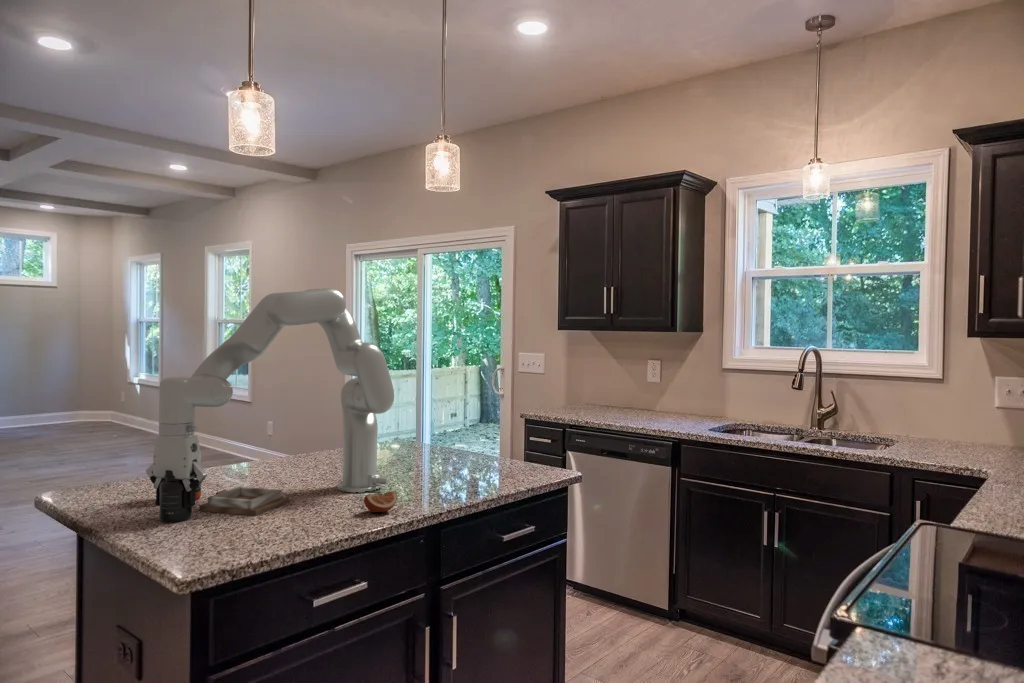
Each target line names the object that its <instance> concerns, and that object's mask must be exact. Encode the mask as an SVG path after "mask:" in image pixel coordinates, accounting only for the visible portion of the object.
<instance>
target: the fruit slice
mask: <svg viewBox="0 0 1024 683" xmlns="http://www.w3.org/2000/svg"><path fill="white" fill-rule="evenodd" d="M397 502H398V494H397V491H396V490H394V491H388V492H387V491H386V492H384V493H379V492H378V493H370V494H369V493H368V494H365V496H364V499H363V504H364V506H365V507H366V509H367V510H369V511H370V512H372V513H375V512H382V513H386V512H387V511H390V510H391V509H392V508H394V507H395V505H396V504H397Z"/></svg>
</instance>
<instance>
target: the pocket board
mask: <svg viewBox="0 0 1024 683" xmlns="http://www.w3.org/2000/svg"><path fill="white" fill-rule="evenodd" d="M287 502H288V503H289V502H290V497H289V496H282V489H274V488H263V487H251V486H250V487H249V486H238V487H234V488H231V489H228V490H227V489H223V490H220V491H216V492H215V494H214V495H211V496H208V497H207V502H206V503H204V504H200V505H198V506H199V508H198V511H200V510H202V511H203V512H210V511H211V512H212V513H224V514H232V515H242V514H243V515H242V516H245V515H246V516H253V515H257V516H259V515H262V514H264V513H266V511H267V512H269V511H271V510H273V508H274V509H276V508H278V507H280V505H281V506H283V505H285V504H284V503H286V504H287ZM282 504H283V505H282ZM275 507H276V508H275ZM268 510H269V511H268ZM202 511H201V512H202ZM263 512H264V513H263ZM261 513H262V514H261ZM258 514H259V515H258Z"/></svg>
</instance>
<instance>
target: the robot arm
mask: <svg viewBox="0 0 1024 683" xmlns="http://www.w3.org/2000/svg"><path fill="white" fill-rule="evenodd" d="M346 307H347V302H346V298H345V296H344V295H343V293H342V292H341V291H339V290H338V289H336V288H330V287H325V288H310V289H305V290H303V291H301V290H300V291H289V292H288V291H286V292H272V293H269V294H267V295H265V296H264V297H263V298H261V299H260V301H259V302H258V303H257V304H256V306H255V307H254V308H253V310H252V311H251V312H250V313H249V314H248V316H246V318H245V319H244V320H243V322H242V323H241V324H240V325H239V326H238V328H236V330H235V332H234V333H233V334H232V335H231V336H230V337H228V338H227V339H226V340H225V341H224V342H222V343H221V344H220V345H219V346H218V347H217V348H216V349H214V351H212V352H211V353H210V354H209V355H208V356H207V357H206V358H205V359H203V361H202V362H201V364H199V366H198V367H197V368H196V370H195V371H194V372H193V373H192V375H191V376H190V377H186V376H172V377H165V378H162V379H161V380H160V382H159V385H158V386H159V387H158V389H159V391H158V395H159V396H158V397H159V398H158V400H159V401H158V435H156V439H155V442H154V443H155V444H154V450H153V458H152V462H153V463H152V464H151V465H150V466H149V467H148V468H147V469H146V470H145V473H146V474H147V476H148V478H149V480H150V482H151V483H152V485H153V488H154V489H155V505H156V507H160V494H159V487H160V483H161V482H162V481H163V480H165V477H164V475H165V470H172V471H173V475H174V476H175V478H174V479H177V480H182V481H183V483H184V486H185V488H186V491H184V499H183V507H184V508H186V509H187V508H190V507H192V508H193V507H195V506H196V489H198V486H199V485H200V484H201V485H202V483H203V481H204V480H205V479H206V478H207V477H208V473H207V472H206V471H205V470H204V468H203V467H202V454H201V453H202V452H201V446H200V445H201V444H200V441H199V437H198V435H197V434H195V433H196V432H198V429H199V428H198V426H197V425H196V421H195V419H196V418H195V417H196V414H195V412H196V408H197V407H198V408H199V407H201V408H202V407H204V408H220V407H222V406H225V405H226V404H229V402H230V401H231V399H232V397H233V395H234V394H233V393H234V390H233V386H232V384H231V383H230V382H229V380H227V379H228V378H229V377H231V375H232V374H233V373H234V372H235V371H237V370H238V369H240V367H243V366H244V365H246V364H248V363H250V362H254V361H255V360H257V359H258V358H259V357H261V356H262V355H263V354H264V353H265V351H266V350H267V349H268V347H269V346H270V345H271V344H272V342H273V341H274V340H275V339H276V337H277V336H278V335H279V333H280V332H281V331H282V330H283V328H284V327H285V326H286V327H287V326H288V327H290V326H300V325H310V324H316V323H317V324H318V325H320V327H321V328H322V329H323V330H324V332H325V335H326V337H327V340H328V343H329V346H330V349H331V353H332V356H333V360H334V363H335V366H336V368H337V369H336V370H338V371H339V372H340V373H341V374H342V375H346V376H350V377H352V376H353V377H354V378H351V379H349V380H347V381H346V382H345V383H344V385H343V387H342V388H341V393H340V402H341V403H340V404H341V410H342V418H343V421H342V422H343V437H342V438H343V439H342V452H343V453H342V481H340V482H338V483H337V484H336V489H337V490H338V491H340V490H341V492H344V491H347V492H346V493H356V492H358V493H366V492H365V491H370V492H373V491H372V490H375V491H377V490H376V489H378V490H380V489H382V488H383V485H389V482H390V479H389V476H385V475H384V476H382V475H381V471H379V470H377V469H378V465H377V464H378V430H379V429H378V420H377V415H378V414H379V415H380V414H385V413H386V412H388V411H389V410H390V409H391V408H392V406H393V404H394V401H395V390H394V385H393V381H392V378H391V374H390V371H389V367H388V364H387V361H386V358H385V355H384V353H383V352H382V350H381V349H380V348H379V347H378V346H377V345H376V344H374V343H370V342H363V341H362V338H361V336H360V333H359V330H358V326H357V324H356V322H355V319H354V318H353V315H352V314H351V312H350V311H349V310H348V309H347V308H346ZM376 414H377V415H376ZM196 476H197V478H196V479H195V477H196ZM189 480H190V482H191V484H190V482H189ZM379 488H380V489H379Z"/></svg>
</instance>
